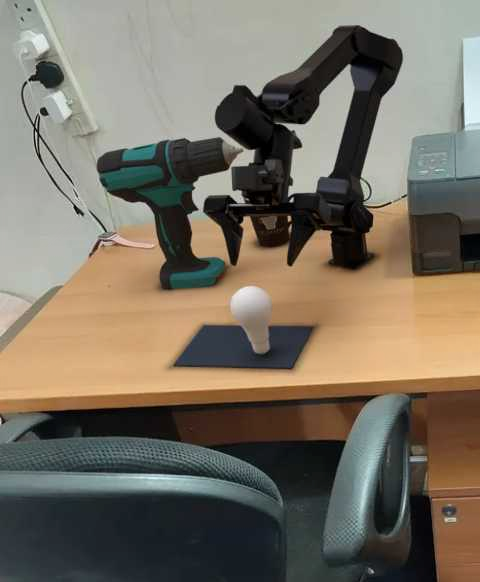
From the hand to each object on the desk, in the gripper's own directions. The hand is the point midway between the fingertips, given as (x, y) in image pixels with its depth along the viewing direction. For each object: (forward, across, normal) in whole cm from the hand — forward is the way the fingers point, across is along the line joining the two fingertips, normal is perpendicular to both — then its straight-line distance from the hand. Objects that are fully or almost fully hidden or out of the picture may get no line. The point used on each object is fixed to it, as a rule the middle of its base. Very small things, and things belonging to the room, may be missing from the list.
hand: (260, 265), depth 99 cm
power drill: (-5, -23, +22) cm, 32 cm away
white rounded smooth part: (+13, 0, +4) cm, 13 cm away
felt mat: (+11, -4, +6) cm, 13 cm away
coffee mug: (-17, -13, +34) cm, 40 cm away
